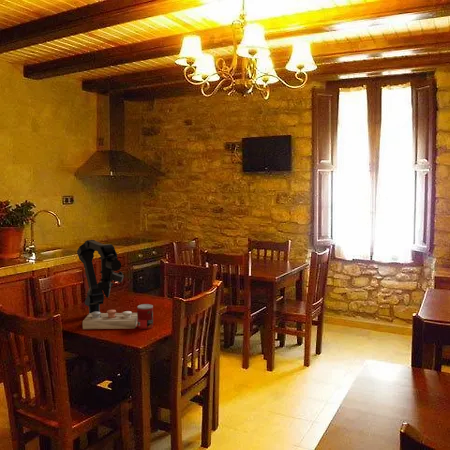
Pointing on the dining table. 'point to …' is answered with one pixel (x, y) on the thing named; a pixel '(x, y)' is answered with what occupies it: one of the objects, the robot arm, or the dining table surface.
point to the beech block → (110, 322)
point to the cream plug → (127, 314)
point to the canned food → (145, 316)
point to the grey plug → (96, 314)
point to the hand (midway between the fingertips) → (107, 297)
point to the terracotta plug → (111, 313)
